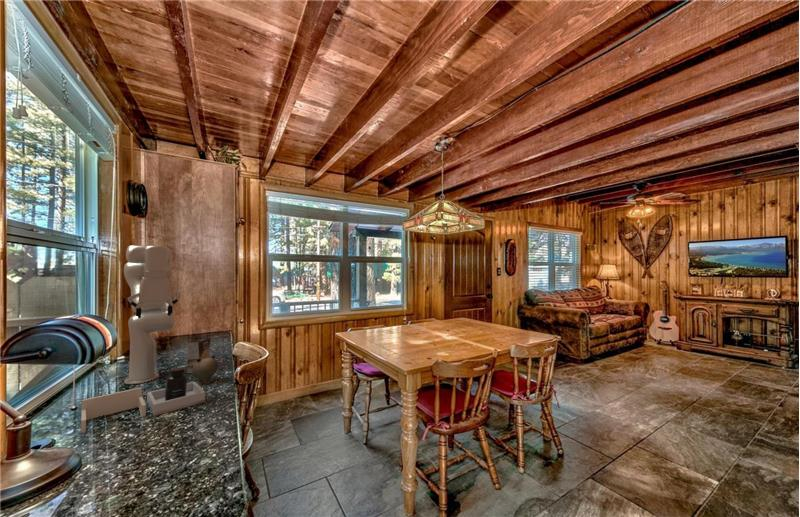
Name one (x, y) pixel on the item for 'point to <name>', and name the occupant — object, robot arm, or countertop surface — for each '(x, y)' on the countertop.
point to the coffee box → (197, 351)
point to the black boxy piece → (176, 384)
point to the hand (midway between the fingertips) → (154, 316)
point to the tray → (161, 406)
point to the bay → (111, 405)
